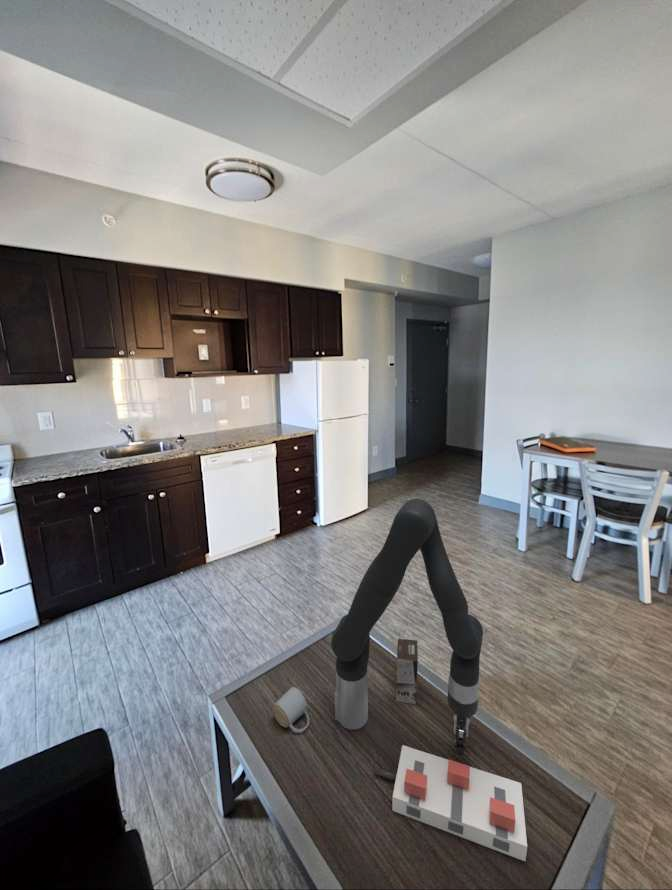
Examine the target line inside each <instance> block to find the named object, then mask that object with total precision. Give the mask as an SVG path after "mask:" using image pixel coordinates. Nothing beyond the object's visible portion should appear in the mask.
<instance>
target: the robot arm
mask: <svg viewBox="0 0 672 890" xmlns="http://www.w3.org/2000/svg"><path fill="white" fill-rule="evenodd" d="M418 551H420V553H421V555H422V560H423V562H424V568H425V572H426V573H425V574H426V577H427V581H428V585H429V588H430V591H431V593H432V595H433V598H434V601H435V603H436V605H437V608H438V609H439V612H440V614H441V617H442V623H443V627H444V632H445V636H446V638H447V641H448V643H449V646H450V647H451V649H452V652H451V657H450V663H449V666H450V667H449V675H448V682H447V703H448V707H449V708H450V710H452V712H453V720H454V721H453V722H454V723H453V733H454V734H455V740H454V743H455V744H454V745H453V746H454V750H455V751H454V753H455V755H456V756H459V757H462V758H463V757H465V752H466V751H467V747H466V746H467V743H466V742H467V737H468V736H469V725H470V723H471V722H470V720H471V717H472V716H474V715H475V714H477V711H478V709H479V707H478V706H479V696H480V694H479V693H480V681H479V680H480V657H481V656H480V655H481V652H482V651H481V649H482V644H483V638H484V636H483V635H484V629H483V626H482V623H481V622H480V620H479V619H478V618H477V617H476V616H474V615H472V614H469V603H468V601H467V599H466V597H465V594H464V592H463V589H462V587H461V585H460V583H459V580H458V578H457V576H456V574H455V571H454V569H453V566H452V564H451V561H450V559H449V556H448V553H447V550H446V547H445V544H444V542H443V538H442V535H441V532H440V527H439V524H438V519H437V516H436V513H435V510H434V507H432V505H431V504H430V503H429V502H427V501H426V500H424V499H421V498H412V499H409V500H407V501H406V502H405V503H404V504H403V505H402V506H401V507H400V509H399V510H398V511H397V513H395V516H394V518H393V521H392V523H391V527H390V530H389V531H388V534H387V537H386V539H385V542H384V544H383V547H382V548H381V550H380V551H379V553H378V554H377V555H376V556H375V558H374V559H373V560H372V562H371V563H370V564H369V566H368V568H367V569H366V571H365V573H364V575H363V577H362V579H361V581H360V583H359V586H358V587H357V589H356V592H355V594H354V597H353V599H352V602H351V605H350V607H349V610H348V612H347V614H346V615H344V616H343V617H342V618H341V619H340V620H339V622H338V624H337V625H336V628H335V629H334V631H333V634H332V636H331V642H330V643H331V650H332V652H333V654H334V656H335V657H336V659H335V673H336V674H335V675H336V676H335V680H336V690H335V692H334V696H333V697H334V718H335V721H337V722H338V723H340V725H341V726H342V727H343V728H344V729H347V730H350V731H351V730H352V731H355V730H359V729H362V728H363V727H364V726H365V725H366V724H367V722H368V719H369V716H368V715H369V708H368V707H369V706H368V705H369V704H368V703H369V700H368V698H369V697H368V695H369V694H368V693H369V692H368V689H369V688H368V687H369V686H368V683H369V682H368V663H369V660H370V647H371V646H370V645H371V644H370V640H371V637H370V634H371V633H370V632H371V631H372V629H373V628H374V627H375V625H376V624H377V622H378V621H379V619H381V617H382V615H383V614H384V612H385V611H386V610H387V608H388V607H389V605H390V604H391V602H392V601H393V599H394V598H395V595H396V594H397V592H398V590H399V589H400V586H401V584H402V583H403V581H404V576H405V574H406V572H407V568H408V567H409V565H410V562H411V561H412V559H414V557H415V555H416V554H417V553H418Z"/></svg>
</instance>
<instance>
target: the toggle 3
mask: <svg viewBox="0 0 672 890" xmlns="http://www.w3.org/2000/svg"><path fill="white" fill-rule="evenodd" d="M489 823H490V824H493V825H496V826H499V827H501V828H504V829H507V830H510V831H512V832H514V828H515V808H514V805H512V804H509V803H506V802H503V801H501V800H498V799H495V798H492V797H490V804H489Z"/></svg>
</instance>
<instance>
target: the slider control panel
mask: <svg viewBox="0 0 672 890" xmlns="http://www.w3.org/2000/svg"><path fill="white" fill-rule="evenodd" d="M448 760H449V759H447V758H444V757H440V756H438V755H435V754H432V753H428V752H425V751H422V750H419V749H416V748H413V747H410V746H406V745H404V744H402V745H401V751H400V755H399V761H398V766H397V767H398V768H397V772H396V774H395V773H392V772H391V771H386V770H384V769H382V768H378V767H376V766H375V767H374V771H373V772H374V774H376V775H377V776H381V777H384V778H388V779H389V780H393V781H395V782H394V787H393V793H392V806H391V808H392V812H394V813H397V814H399V815H403V816H406V817H408V818H410V819H413V820H416V821H417V822H421V823H424V824H426V825H427V826H432V827H434V828H436V829H439V830H442V831H445V832H446V833H449V834H452V835H455V836H457V837H460V838H463V839H465V840H468V841H471V842H474V843H476V844H479V845H481V846H483V847H486V848H489V849H491V850H494V851H496V852H499V853H502V854H505V855H507V856H509V857H512V858H515V859H517V860H520V861H521V862H522V861H523V862H526V861H527V853H528V852H527V851H528V840H527V839H528V838H527V830H526V819H525V818H526V817H525V809H524V799H523V797H524V796H523V788H522V783H521V782H519V781H515V780H512V779H510V778H506V777H503V776H501V775H498V774H497V775H496V774H495V773H494V774H493V773H491V772H487V771H485V770H481V769H478V768H475V767H471V766H470V779H469V790H468V789H465V788H462V787H459V786H456V785H453V784H450V783H447V775H448ZM406 769H409V770H412V771H415V772H418V773H421V774H424V775H427V791H426V799H425V800H424V799H421V798H418V797H416V796H413V795H410V794H407V793H405V792H404V780H405V775H406ZM490 797H492V798H495V799H498V800H501V801H503V802H506V803H509V804H512V805H514V808H515V828H514V832H512V831H510V830H507V829H504V828H501V827H499V826H496V825H493V824H490V823H489V804H490Z"/></svg>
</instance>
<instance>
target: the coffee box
mask: <svg viewBox="0 0 672 890" xmlns="http://www.w3.org/2000/svg"><path fill="white" fill-rule="evenodd" d="M396 649H397V650H396V652H397V653H396V702H401V703H407V704H413V705H416V704H417V692H418V691H417V690H418V689H417V687H418V666H419V665H418V664H419V663H418V662H419V654H418V640H416V639H406V638H405V639H403V638H398V639H397V647H396Z"/></svg>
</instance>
